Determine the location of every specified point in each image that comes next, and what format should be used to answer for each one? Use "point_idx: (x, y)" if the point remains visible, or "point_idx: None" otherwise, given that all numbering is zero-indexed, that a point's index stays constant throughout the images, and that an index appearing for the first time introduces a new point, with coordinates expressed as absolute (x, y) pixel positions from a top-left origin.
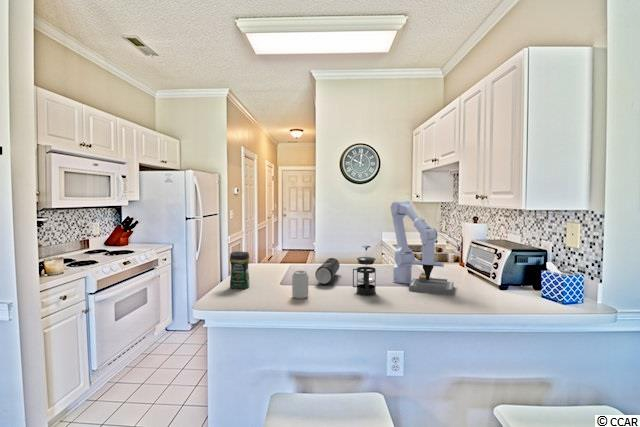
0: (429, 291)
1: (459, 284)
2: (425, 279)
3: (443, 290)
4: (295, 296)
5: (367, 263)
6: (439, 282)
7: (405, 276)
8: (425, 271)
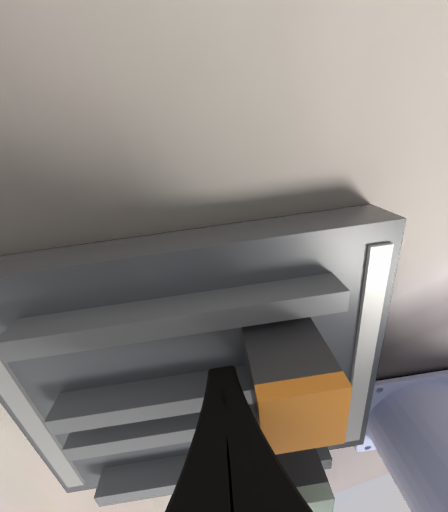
0: (176, 236)
1: (77, 500)
2: (250, 370)
3: (22, 267)
4: None
5: None
6: (114, 409)
7: (444, 433)
8: (281, 506)
